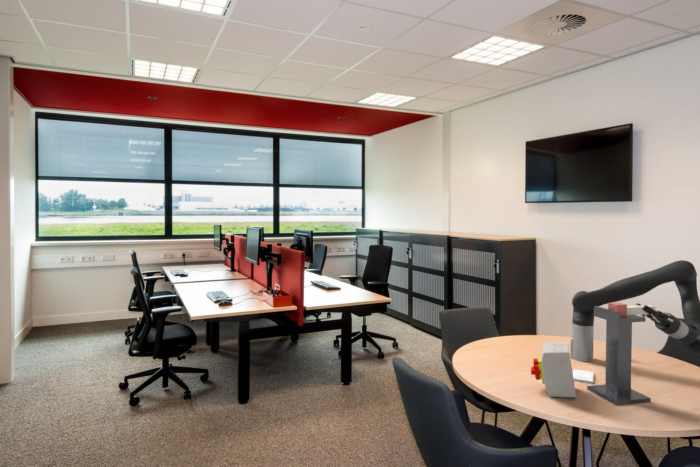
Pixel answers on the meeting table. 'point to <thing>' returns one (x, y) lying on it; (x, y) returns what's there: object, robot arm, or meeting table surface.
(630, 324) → the headphone stand
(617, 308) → the white bar pink end
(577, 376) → the external hard drive
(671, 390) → the meeting table surface
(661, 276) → the robot arm
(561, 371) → the electrical switch box
